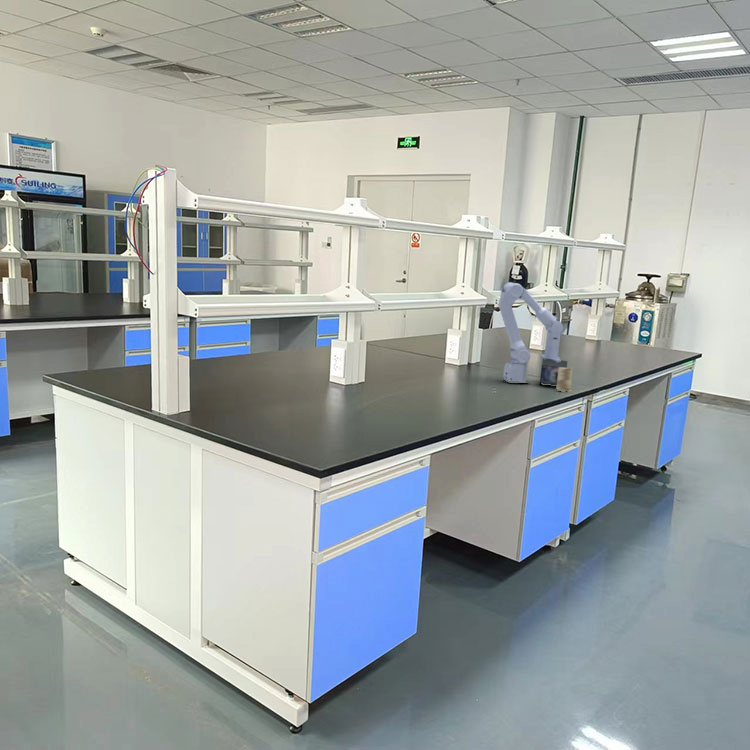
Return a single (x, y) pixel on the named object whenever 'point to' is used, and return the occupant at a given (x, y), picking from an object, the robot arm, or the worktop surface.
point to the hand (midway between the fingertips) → (548, 377)
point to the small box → (551, 371)
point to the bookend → (564, 379)
